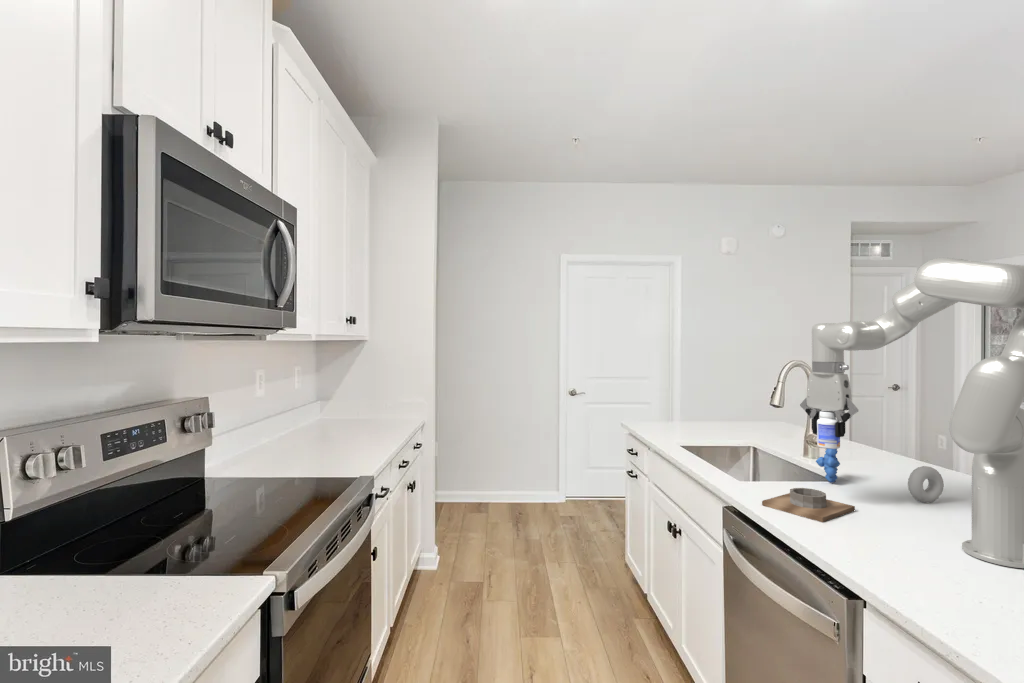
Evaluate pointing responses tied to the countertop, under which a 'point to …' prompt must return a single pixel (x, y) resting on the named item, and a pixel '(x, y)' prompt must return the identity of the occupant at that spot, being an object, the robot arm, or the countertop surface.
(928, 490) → the donut
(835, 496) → the countertop surface
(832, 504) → the base
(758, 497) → the countertop surface
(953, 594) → the countertop surface
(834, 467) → the grapes
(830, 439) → the pill bottle
